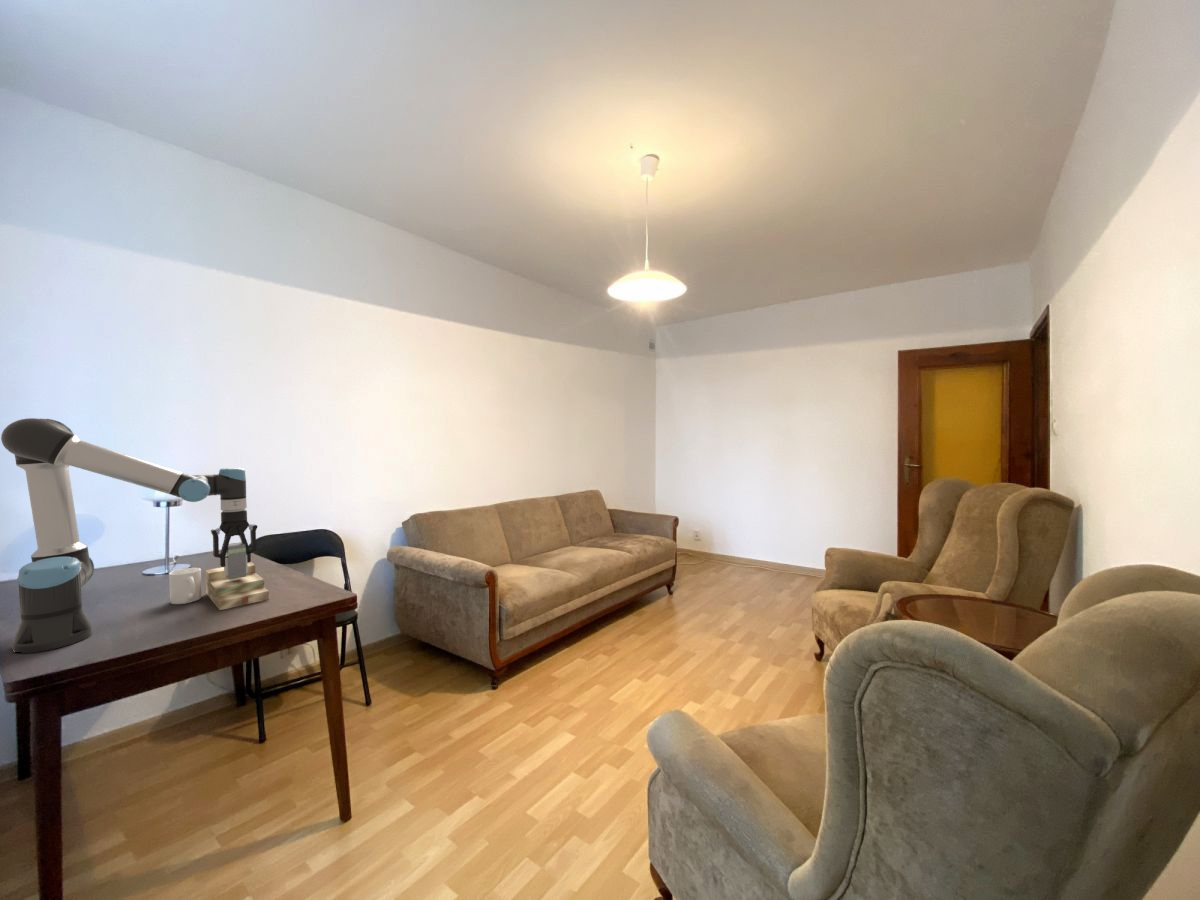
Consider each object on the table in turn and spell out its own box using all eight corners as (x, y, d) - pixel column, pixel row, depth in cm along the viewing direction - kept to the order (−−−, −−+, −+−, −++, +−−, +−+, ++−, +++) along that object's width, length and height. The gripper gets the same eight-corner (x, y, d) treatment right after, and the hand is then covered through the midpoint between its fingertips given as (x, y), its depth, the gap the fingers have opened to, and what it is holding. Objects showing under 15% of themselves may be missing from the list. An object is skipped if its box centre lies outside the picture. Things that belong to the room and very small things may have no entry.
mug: (178, 608, 162) (177, 577, 162) (166, 601, 169) (165, 572, 168) (209, 600, 169) (208, 571, 169) (196, 594, 176) (195, 566, 175)
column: (229, 579, 170) (227, 546, 169) (225, 576, 173) (224, 544, 173) (246, 576, 174) (245, 544, 173) (243, 573, 177) (242, 541, 176)
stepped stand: (220, 610, 160) (219, 584, 160) (206, 593, 177) (205, 570, 176) (269, 599, 171) (268, 574, 170) (252, 584, 187) (251, 562, 187)
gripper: (203, 514, 163) (206, 581, 164) (266, 508, 177) (268, 569, 178) (200, 512, 168) (202, 576, 169) (260, 506, 182) (262, 566, 183)
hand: (236, 573), depth 173 cm, fingers closed on column, 5 cm apart
